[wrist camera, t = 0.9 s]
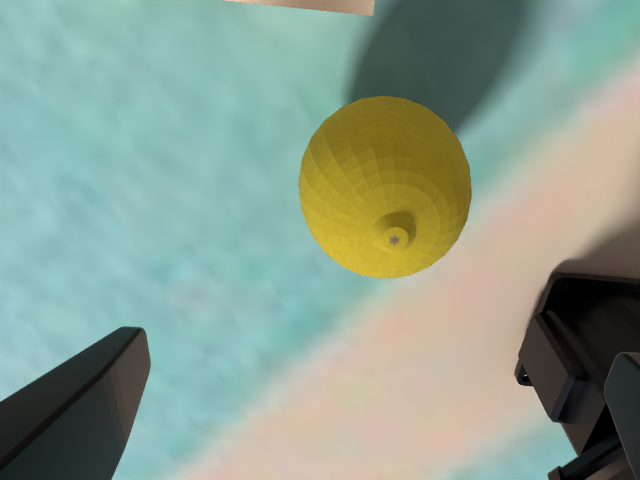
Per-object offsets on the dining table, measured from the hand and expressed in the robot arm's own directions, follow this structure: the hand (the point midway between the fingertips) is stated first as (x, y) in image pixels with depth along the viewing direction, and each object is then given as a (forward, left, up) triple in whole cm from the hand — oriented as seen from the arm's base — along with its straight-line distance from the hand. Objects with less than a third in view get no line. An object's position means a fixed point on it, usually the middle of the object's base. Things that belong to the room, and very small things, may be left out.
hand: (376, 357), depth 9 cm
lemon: (-1, -1, -12) cm, 12 cm away
